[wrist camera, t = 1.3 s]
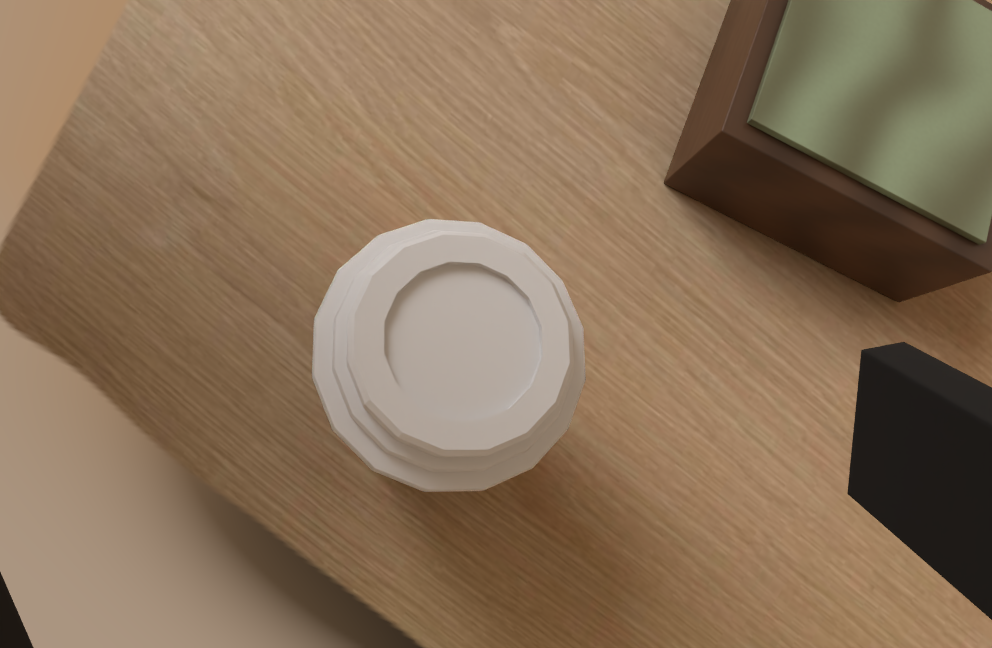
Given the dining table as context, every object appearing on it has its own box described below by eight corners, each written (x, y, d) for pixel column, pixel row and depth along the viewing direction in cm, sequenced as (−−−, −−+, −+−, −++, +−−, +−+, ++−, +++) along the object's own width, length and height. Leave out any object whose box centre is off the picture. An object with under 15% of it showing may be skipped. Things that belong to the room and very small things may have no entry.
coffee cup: (490, 282, 36) (570, 182, 24) (530, 470, 34) (637, 458, 23) (297, 310, 33) (286, 215, 22) (331, 514, 32) (338, 526, 20)
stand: (662, 183, 39) (725, 126, 33) (740, -27, 43) (808, -111, 37) (898, 303, 41) (1000, 269, 35) (950, 89, 45) (1048, 27, 39)
